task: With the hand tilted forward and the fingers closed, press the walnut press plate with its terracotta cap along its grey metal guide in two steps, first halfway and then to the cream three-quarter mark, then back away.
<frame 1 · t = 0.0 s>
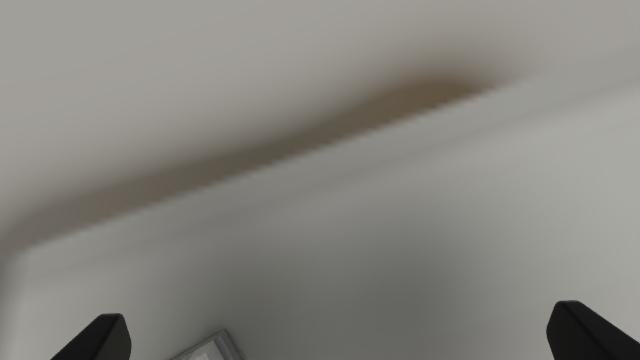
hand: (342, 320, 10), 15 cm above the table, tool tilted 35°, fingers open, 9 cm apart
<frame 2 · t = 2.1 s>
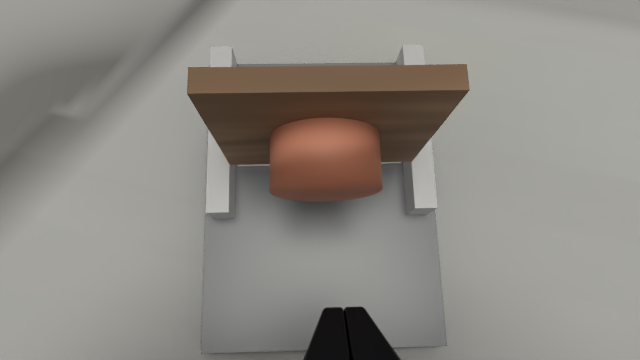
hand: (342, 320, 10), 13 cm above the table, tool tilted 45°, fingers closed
press base: (319, 200, 24), on the table
press plate: (325, 151, 17), point 7 cm above the table, slide at 0.0 cm
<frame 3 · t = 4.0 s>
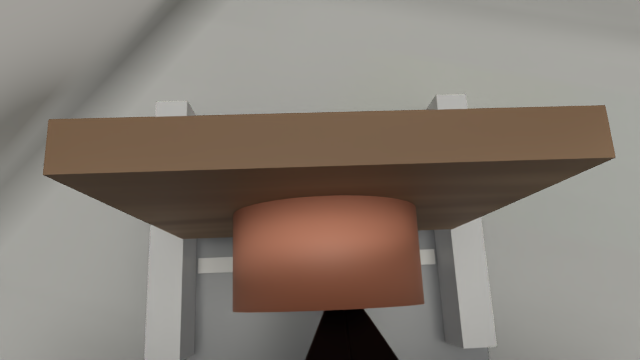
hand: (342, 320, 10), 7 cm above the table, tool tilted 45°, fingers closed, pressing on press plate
press base: (318, 314, 17), on the table
press plate: (326, 239, 10), point 7 cm above the table, slide at 1.4 cm, touching gripper
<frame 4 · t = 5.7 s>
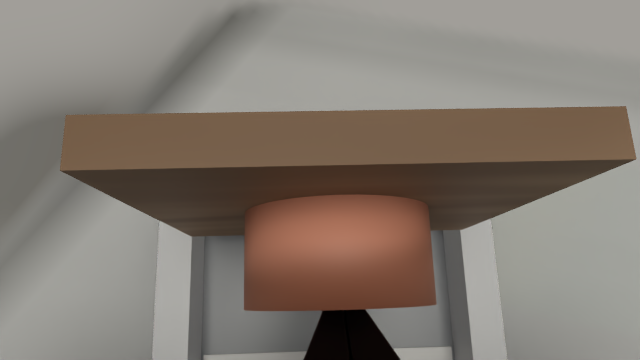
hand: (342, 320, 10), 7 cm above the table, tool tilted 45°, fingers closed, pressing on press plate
press plate: (337, 239, 10), point 7 cm above the table, slide at 4.6 cm, touching gripper
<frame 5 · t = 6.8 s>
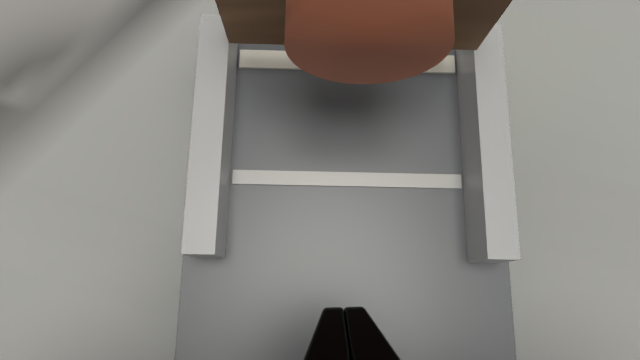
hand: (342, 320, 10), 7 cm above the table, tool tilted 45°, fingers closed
press base: (344, 234, 17), on the table
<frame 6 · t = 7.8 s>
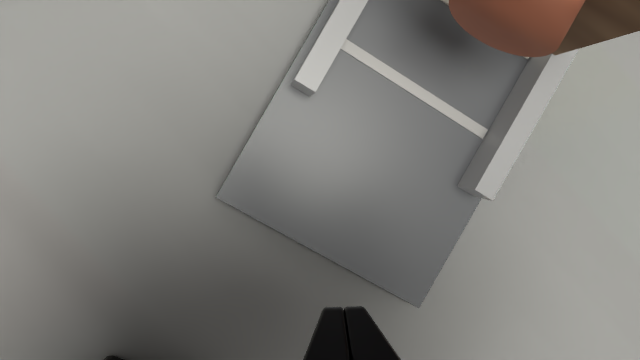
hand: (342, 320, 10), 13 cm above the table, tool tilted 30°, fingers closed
press base: (388, 125, 23), on the table
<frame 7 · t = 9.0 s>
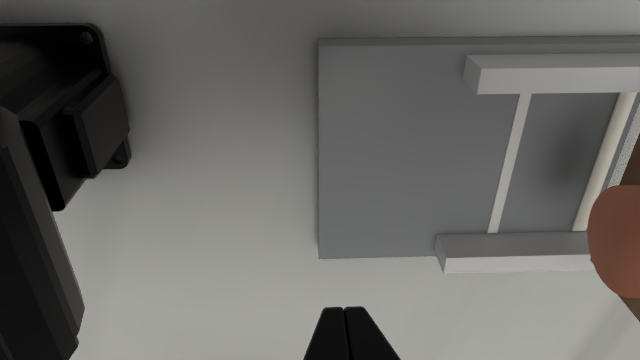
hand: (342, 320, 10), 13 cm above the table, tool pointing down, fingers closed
press base: (462, 151, 23), on the table
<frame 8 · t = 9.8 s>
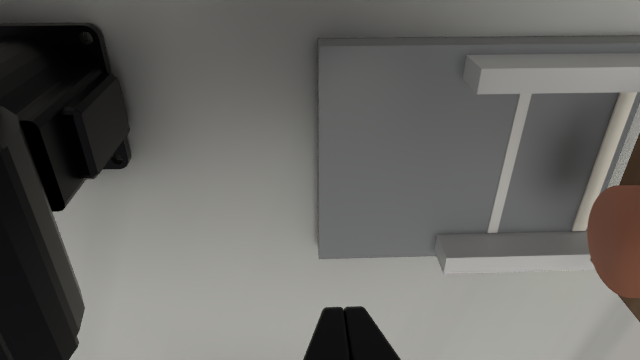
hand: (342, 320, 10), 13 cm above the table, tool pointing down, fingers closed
press base: (462, 151, 23), on the table
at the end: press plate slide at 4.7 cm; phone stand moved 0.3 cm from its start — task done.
